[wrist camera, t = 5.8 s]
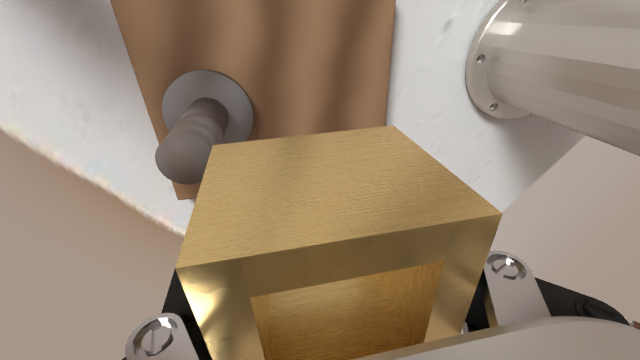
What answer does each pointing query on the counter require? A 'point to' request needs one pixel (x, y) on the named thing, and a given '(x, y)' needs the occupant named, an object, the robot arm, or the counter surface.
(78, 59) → the counter surface
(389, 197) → the brass collar
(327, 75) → the shaft board
